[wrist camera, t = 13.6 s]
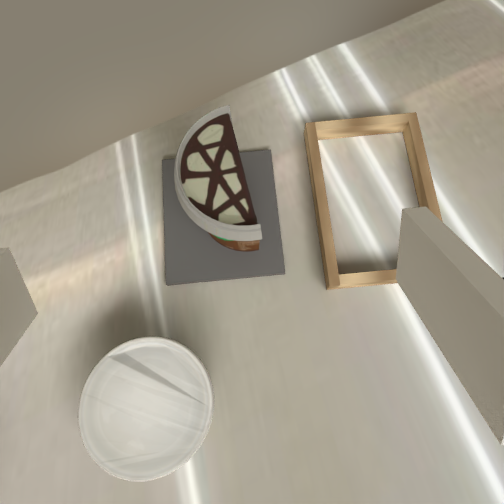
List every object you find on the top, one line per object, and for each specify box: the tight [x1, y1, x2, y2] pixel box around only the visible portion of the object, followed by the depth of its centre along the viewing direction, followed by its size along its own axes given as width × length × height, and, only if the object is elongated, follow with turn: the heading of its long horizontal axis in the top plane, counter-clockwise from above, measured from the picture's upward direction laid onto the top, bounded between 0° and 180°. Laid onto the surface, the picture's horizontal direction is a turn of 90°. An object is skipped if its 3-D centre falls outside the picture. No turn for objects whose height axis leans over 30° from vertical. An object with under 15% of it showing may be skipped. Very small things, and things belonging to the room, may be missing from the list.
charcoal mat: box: [162, 150, 285, 285], centre depth 43 cm, size 12×14×1 cm
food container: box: [174, 105, 262, 252], centre depth 37 cm, size 12×6×10 cm, turn 13°
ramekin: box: [78, 336, 214, 481], centre depth 35 cm, size 11×11×5 cm
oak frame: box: [304, 112, 442, 290], centre depth 42 cm, size 12×18×2 cm, turn 5°
